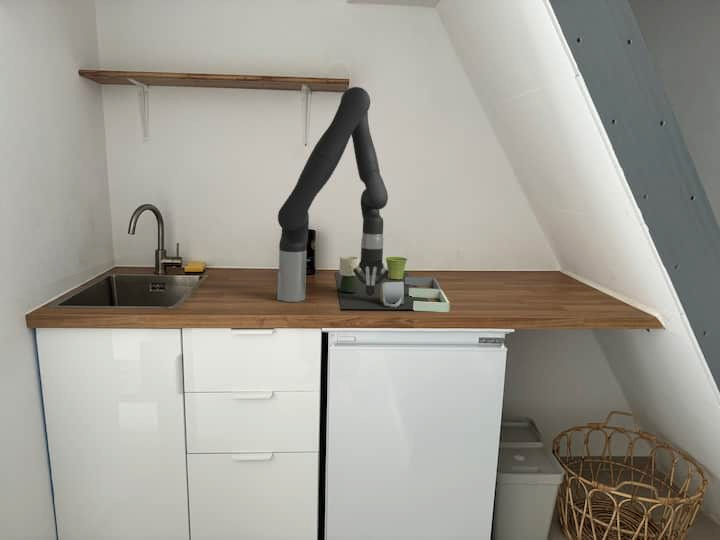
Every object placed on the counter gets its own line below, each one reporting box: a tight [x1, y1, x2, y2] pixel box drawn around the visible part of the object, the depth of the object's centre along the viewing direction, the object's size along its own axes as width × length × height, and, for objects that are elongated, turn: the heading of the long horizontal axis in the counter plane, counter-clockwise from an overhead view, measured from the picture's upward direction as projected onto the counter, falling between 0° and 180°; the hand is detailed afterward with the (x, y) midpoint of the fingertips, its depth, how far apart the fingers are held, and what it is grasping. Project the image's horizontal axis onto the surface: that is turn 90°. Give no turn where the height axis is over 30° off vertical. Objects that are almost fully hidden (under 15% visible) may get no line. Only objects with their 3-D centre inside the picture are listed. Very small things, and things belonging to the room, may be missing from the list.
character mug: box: [339, 255, 360, 294], centre depth 195 cm, size 11×7×13 cm, turn 10°
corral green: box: [408, 287, 451, 313], centre depth 184 cm, size 12×20×3 cm, turn 179°
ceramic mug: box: [380, 281, 405, 308], centre depth 181 cm, size 11×8×8 cm
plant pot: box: [384, 256, 408, 280], centre depth 223 cm, size 9×9×9 cm
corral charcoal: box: [404, 276, 443, 295], centre depth 204 cm, size 12×20×3 cm, turn 179°
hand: (369, 295), depth 184 cm, fingers closed
